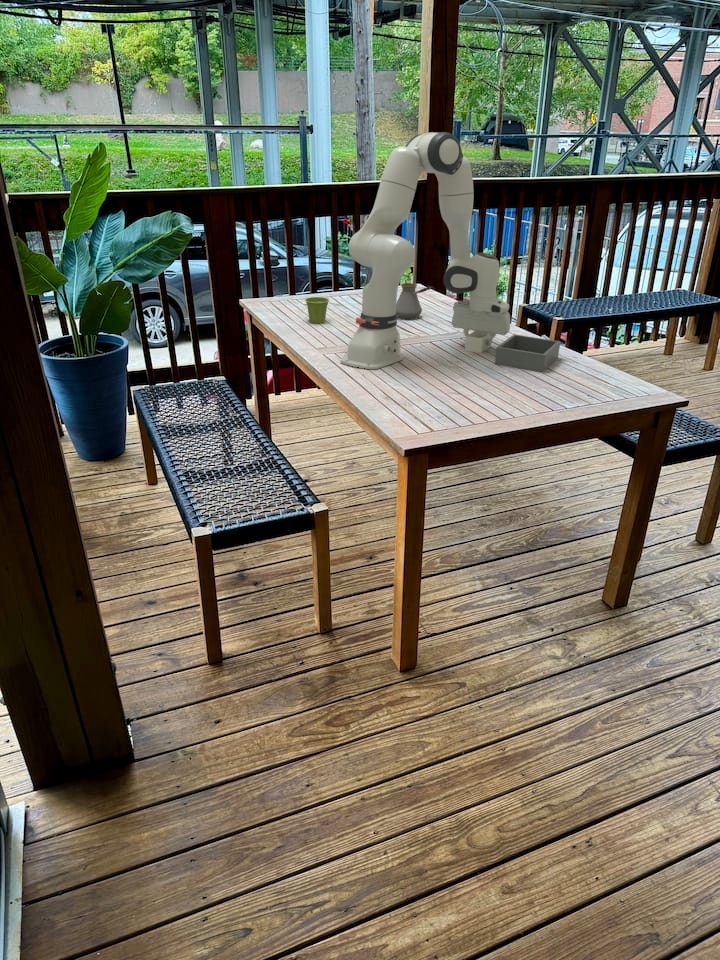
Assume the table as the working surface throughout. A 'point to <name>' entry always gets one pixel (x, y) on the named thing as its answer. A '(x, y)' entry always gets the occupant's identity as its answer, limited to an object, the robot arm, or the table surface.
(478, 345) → the small crate
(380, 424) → the table surface
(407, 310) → the coffee pot
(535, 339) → the big crate
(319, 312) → the plant pot
